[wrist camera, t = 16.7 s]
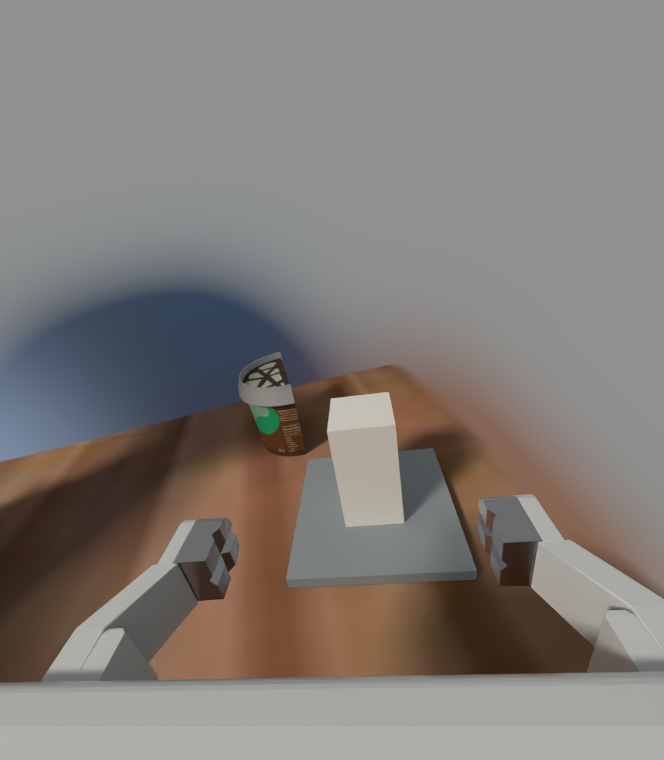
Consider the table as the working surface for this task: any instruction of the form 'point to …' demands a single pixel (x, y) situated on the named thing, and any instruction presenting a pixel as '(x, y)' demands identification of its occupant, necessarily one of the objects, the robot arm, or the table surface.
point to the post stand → (379, 532)
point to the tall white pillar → (366, 459)
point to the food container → (272, 405)
